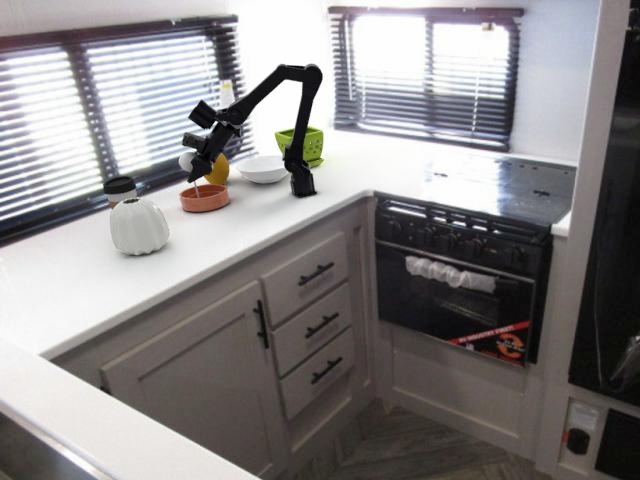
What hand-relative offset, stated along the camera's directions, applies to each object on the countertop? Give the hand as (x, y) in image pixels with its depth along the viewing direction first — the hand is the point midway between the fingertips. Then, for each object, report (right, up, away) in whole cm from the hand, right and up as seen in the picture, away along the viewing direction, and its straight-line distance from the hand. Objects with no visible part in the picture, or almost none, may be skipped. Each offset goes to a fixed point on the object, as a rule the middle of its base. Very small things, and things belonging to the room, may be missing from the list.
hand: (189, 180), depth 175 cm
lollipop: (+2, -6, +4) cm, 7 cm away
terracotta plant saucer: (+4, -7, +4) cm, 9 cm away
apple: (+2, +3, +23) cm, 24 cm away
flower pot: (+29, +13, +37) cm, 49 cm away
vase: (-3, -23, -24) cm, 34 cm away
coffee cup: (-11, -17, -12) cm, 24 cm away
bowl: (+19, +4, +22) cm, 30 cm away
